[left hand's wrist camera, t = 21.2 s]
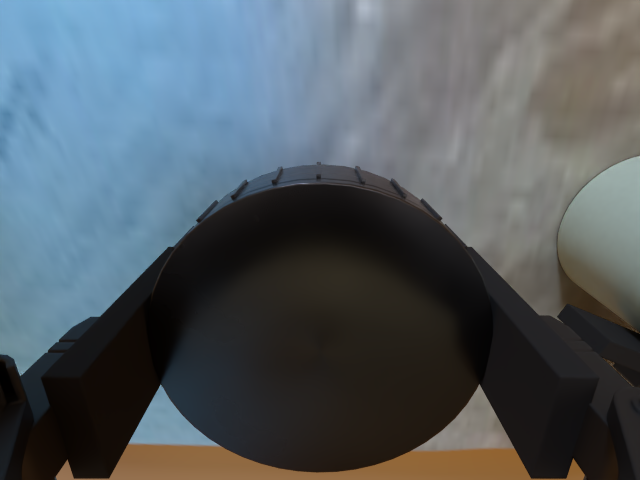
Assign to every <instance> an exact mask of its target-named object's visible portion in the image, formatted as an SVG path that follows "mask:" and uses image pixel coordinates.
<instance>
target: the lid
mask: <svg viewBox="0 0 640 480" xmlns="http://www.w3.org/2000/svg"><path fill="white" fill-rule="evenodd" d="M441 219H442V217H441V216H440V215H439V214H438V213H437V212H436V211H435V210H434V209H433V208H432V207H431V206H430V205H429V204H428V203H427V202H426V201H425V200H424V199H421V200H419V199H418V198H417V197H415V196H414V195H413V194H411V193H410V192H408V191H407V190H406V189H404V188H403V187H401V186H400V185H399V184H398V183H397V182H396V181H395V180H394V179H391V181H390V180H388V179H386V178H383V177H381V176H378V175H375V174H372V173H370V172H367V171H363V170H361V169H360V167H358V166H356V167H355V169H354V168H350V167H345V166H334V165H321V162H317V165H303V166H297V167H291V168H286V169H283V168H282V167H278V169H277V171H274V172H271V173H268V174H265V175H262V176H259V177H257V178H255V179H253V180H251V181H249V182H247V180H244V181H243V182H242V183H241V184H240V185H239V187H238V188H237V189H235V190H234V191H232V192H231V193H229V194H228V195H226V196H225V197H224V198H223V199H221V200H220V201H219V202H218V201H217V200H216V201H214V202H213V203H212V204H211V205H210V206H209V208H208V209H207V210H206V211H205V212H204V213H203V214H202V215H201V216H200V217H199V218H198V219H197V220H196V221H197V222H198V223H197V224H196V225H195V226H193V227H192V228H191V229H190V230H189V231H188V232H187V233H186V234H185V235H184V236H183V237H182V238H181V240H180V241H179V242H178V243H177V244H176V245H175V246H174V247H173V248H172V250H171V251H172V253H171V255H170V256H169V258H168V260H167V261H166V263H165V265H164V266H163V268H162V269H161V271H160V274H159V276H158V279H157V281H156V284H155V286H154V289H153V292H152V297H151V301H150V305H149V311H148V326H147V331H148V342H149V347H150V352H151V357H152V362H153V366H154V368H155V371H156V373H157V376H158V378H159V380H160V383H161V385H162V386H163V388H164V390H165V392H166V393H167V395H168V397H169V398H170V400H171V401H172V402H173V404H174V405H175V406H176V408H177V409H178V410H179V411H180V413H181V414H182V415H183V416H184V417H185V418H186V419H187V420H188V421H189V422H190V423H191V424H192V425H193V426H194V427H195V428H196V429H198V430H199V431H200V432H201V433H203V434H204V435H205V436H207V437H208V438H209V439H211V440H212V441H214V442H215V443H217V444H219V445H220V446H222V447H224V448H225V449H227V450H229V451H231V452H233V453H235V454H237V455H240V456H242V457H244V458H247V459H250V460H253V461H255V462H258V463H261V464H265V465H268V466H272V467H276V468H281V469H287V470H293V471H303V472H338V471H346V470H354V469H359V468H364V467H368V466H372V465H376V464H379V463H382V462H385V461H388V460H391V459H394V458H396V457H398V456H400V455H403V454H405V453H407V452H410V451H411V450H413V449H415V448H417V447H418V446H420V445H422V444H424V443H425V442H427V441H428V440H430V439H431V438H432V437H434V436H435V435H436V434H438V433H439V432H441V431H442V430H443V429H444V428H445V427H446V426H447V425H448V424H449V423H450V422H451V421H453V420H454V419H455V418H456V416H457V415H458V414H459V413H460V412H461V411H462V409H463V408H464V407H465V406H466V405H467V403H468V402H469V400H470V399H471V397H472V396H473V394H474V392H475V391H476V389H477V387H478V385H479V383H480V381H481V379H482V377H483V375H484V373H485V370H486V366H487V363H488V359H489V354H490V349H491V343H492V338H493V315H492V309H491V303H490V298H489V294H488V291H487V288H486V285H485V282H484V279H483V277H482V275H481V273H480V271H479V269H478V267H477V265H476V264H475V262H474V260H473V258H472V257H471V255H470V254H469V253H468V251H467V250H466V249H468V247H467V246H466V245H465V244H464V243H463V242H462V240H461V239H460V238H459V237H458V236H457V235H456V234H455V233H454V232H453V231H452V230H451V229H450V228H449V227H448V226H447V225H446V224H445V225H444V224H443V223H442V222H441V221H440V220H441Z"/></svg>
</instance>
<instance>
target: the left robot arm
mask: <svg viewBox="0 0 640 480" xmlns="http://www.w3.org/2000/svg"><path fill="white" fill-rule="evenodd" d="M172 248H173V247H168V248H167V249H166V250H165V251H164V252H163V253H162V254H161V255H160V256H159V257H158V258H157V259H156V260H155V261H154V262H153V263H152V264H151V265H150V266H149V267H148V268H147V270H146V271H145V272H144V273H143V274H142V275H141V276H140V277H139V278H138V279H137V280H136V281H135V282H134V283H133V284H132V285H131V286H130V287H129V288H128V289H127V290H126V291H125V292H124V293H123V294H122V295H121V296H120V297H119V298H118V299H117V300H116V301H115V302H114V303H113V304H112V305H111V306H110V307H109V308H108V309H107V310H106V311H105V312H104V313H103V314H102V315H101V316H100V317H90V318H88V319H86V320H84V321H83V322H81V323H79V324H77V325H76V326H74V327H72V328H71V329H70V330H69V331H68V332H67V333H66V334H65V335H64V336H63V337H62V338H61V339H60V340H59V342H56V343H55V344H54V345H53V346H52V347H51V348H50V349H49V350H48V353H45V354H44V355H43V356H42V357H41V358H39V359H38V360H37V361H36V362H35V363H34V364H33V365H32V366H31V367H30V368H29V369H28V370H27V371H26V372H25V373H24V374H23V375H22V376H20V375H19V373H18V370H17V367H16V364H15V361H14V359H13V358H11V357H9V356H8V355H0V480H57V479H56V475H57V474H58V472H59V471H60V469H61V468H62V467H63V465H64V464H65V462H66V461H67V459H68V462H69V465H70V468H71V471H72V474H73V477H74V478H110V476H111V474H112V472H113V470H114V468H115V467H116V465H117V463H118V461H119V459H120V457H121V456H122V454H123V452H124V450H125V448H126V446H127V445H128V443H129V441H130V439H131V437H132V435H133V434H134V432H135V430H136V428H137V426H138V424H139V423H140V421H141V419H142V417H143V415H144V414H145V412H146V410H147V408H148V406H149V404H150V403H151V401H152V399H153V397H154V395H155V393H156V392H157V390H158V388H159V386H160V384H161V383H160V380H159V378H158V376H157V373H156V371H155V368H154V366H153V362H152V357H151V352H150V347H149V342H148V331H147V326H148V311H149V305H150V301H151V297H152V292H153V289H154V286H155V284H156V281H157V279H158V276H159V274H160V271H161V269H162V268H163V266H164V265H165V263H166V261H167V260H168V258H169V256H170V255H171V253H172V251H171V250H172ZM466 250H467V251H468V253H469V254H470V255H471V257H472V258H473V260H474V262H475V264H476V265H477V267H478V269H479V271H480V273H481V275H482V277H483V279H484V282H485V285H486V288H487V291H488V294H489V298H490V303H491V309H492V315H493V338H492V343H491V349H490V354H489V359H488V363H487V366H486V370H485V373H484V375H483V377H482V379H481V381H480V383H479V384H480V386H481V387H482V389H483V391H484V393H485V395H486V397H487V398H488V400H489V402H490V404H491V406H492V408H493V409H494V411H495V413H496V415H497V417H498V419H499V420H500V422H501V424H502V426H503V428H504V430H505V431H506V433H507V435H508V437H509V439H510V441H511V442H512V444H513V446H514V448H515V450H516V451H517V453H518V455H519V457H520V459H521V461H522V462H523V464H524V466H525V468H526V470H527V471H528V473H529V475H530V477H531V478H540V479H541V478H542V479H544V478H546V479H551V478H552V479H553V478H554V479H558V478H559V479H563V478H564V479H566V478H567V475H568V472H569V469H570V466H571V463H572V460H573V458H574V460H575V461H576V463H577V464H578V466H579V467H580V468H581V470H582V471H583V473H584V474H585V477H584V479H583V480H640V388H638V387H633V386H631V385H630V384H629V383H628V382H627V381H626V380H625V379H624V378H623V377H622V376H621V375H620V374H619V373H618V372H617V371H616V370H614V369H613V368H612V367H611V366H610V365H609V364H608V363H607V362H606V361H605V360H604V359H603V358H602V357H601V356H600V355H599V354H597V353H596V352H593V349H592V348H591V347H590V346H589V345H588V344H587V343H586V342H585V341H582V338H580V337H579V336H578V335H577V334H576V333H575V332H574V331H573V330H572V329H571V328H570V327H569V326H567V325H565V324H564V323H562V322H560V321H558V320H557V319H555V318H553V317H551V316H539V315H538V314H537V313H536V312H535V311H534V310H533V309H532V308H531V307H530V306H529V305H528V304H527V303H526V302H525V301H524V300H523V299H522V298H521V297H520V296H519V295H518V294H517V293H516V292H515V291H514V290H513V289H512V288H511V287H510V286H509V285H508V284H507V282H506V281H505V280H504V279H503V278H502V277H501V276H500V275H499V274H498V273H497V272H496V271H495V270H494V269H493V268H492V267H491V266H490V265H489V264H488V263H487V262H486V261H485V260H484V259H483V258H482V257H481V256H480V255H479V254H478V253H477V252H476V251H475V250H474V249H473V248H472V247H468V249H466Z"/></svg>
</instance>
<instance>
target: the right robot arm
mask: <svg viewBox="0 0 640 480" xmlns="http://www.w3.org/2000/svg"><path fill="white" fill-rule="evenodd" d="M557 317H558V318H559V319H560V320H561V321H562V322H563V323H564V324H565V325H567V326H569V327H570V328H571V329H572V330H573V331H574V332H575V333H576V334H577V335H578V336H579V337H580V338H582V341H585V342H586V343H587V344H588V345H589V346H590V347H591V348H592V349H593V352H596V353H597V354H599V355H600V356H601V357H602V358H605V359H607V360H610V361H612V362H615V364H614V365H613V366H614V368H615V369H616V370H617V371H618V372H619V373H620V374H621V375H622V376H623V377H624V378H625V379H626V380H627V381H628V382H629V383H631V384H632V385H633V386H634V387H638V388H640V334H639V333H636V332H634V331H632V330H629V329H627V328H624V327H622V326H620V325H617V324H615V323H613V322H610V321H608V320H605V319H603V318H601V317H598V316H596V315H593V314H591V313H589V312H586V311H584V310H582V309H579V308H577V307H574V306H572V305H570V304H567V305H566V306H565V307H564V309H563V310H562V311H561V312H560V314H559V315H558V316H557Z"/></svg>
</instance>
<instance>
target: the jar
mask: <svg viewBox="0 0 640 480" xmlns="http://www.w3.org/2000/svg"><path fill="white" fill-rule="evenodd" d="M557 251H558V256H559V261H560V263H561V266H562V268H563V270H564V271H565V273H566V275H567V276H568V277H569V278H570V279H571V280H572V281H573V282H574V283H575V284H577V285H578V286H579V287H580V288H582V289H583V290H584V291H586V292H587V293H588V294H590V295H591V296H592V297H594V298H595V299H596V300H598V301H599V302H600V303H602V304H603V305H604V306H605V307H607V308H608V309H609V310H611V311H612V312H613V313H615V314H616V315H617V316H619V317H620V318H621V319H623V320H624V321H625V322H627V323H628V324H629V325H631V326H632V327H633V328H634V329H636V330H637V331H638V332H640V156H637V157H633V158H630V159H627V160H625V161H622V162H619V163H617V164H615V165H614V166H612V167H610V168H608V169H606V170H605V171H603V172H602V173H600V174H599V175H597V176H596V177H595V178H594V179H592V180H591V181H590V182H589V183H588V184H587V185H586V186H585V187H584V188H583V189H582V190H581V191H580V192H579V193H578V194H577V196H576V197H575V198H574V200H573V201H572V203H571V204H570V205H569V207H568V209H567V211H566V213H565V215H564V217H563V219H562V222H561V225H560V228H559V233H558V240H557Z"/></svg>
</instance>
